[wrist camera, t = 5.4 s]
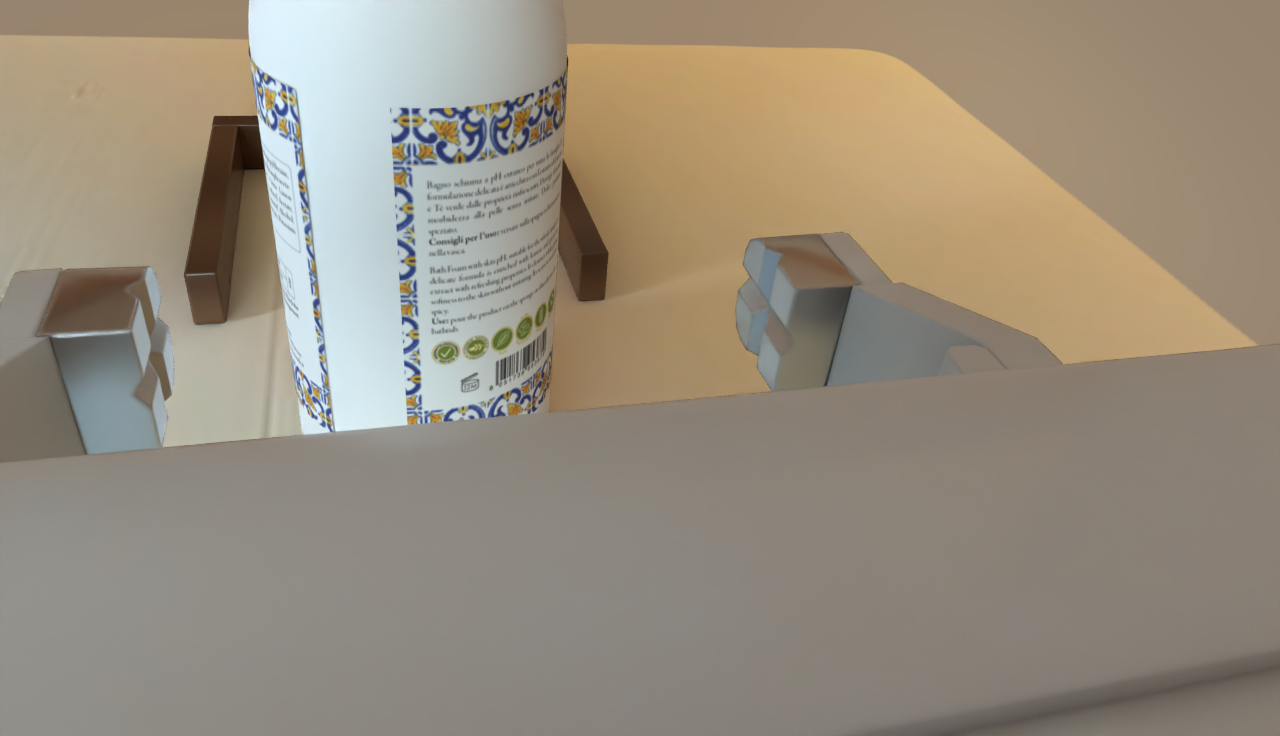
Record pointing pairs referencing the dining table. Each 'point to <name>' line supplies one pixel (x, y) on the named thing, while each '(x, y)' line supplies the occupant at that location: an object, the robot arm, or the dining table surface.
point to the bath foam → (414, 202)
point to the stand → (242, 149)
